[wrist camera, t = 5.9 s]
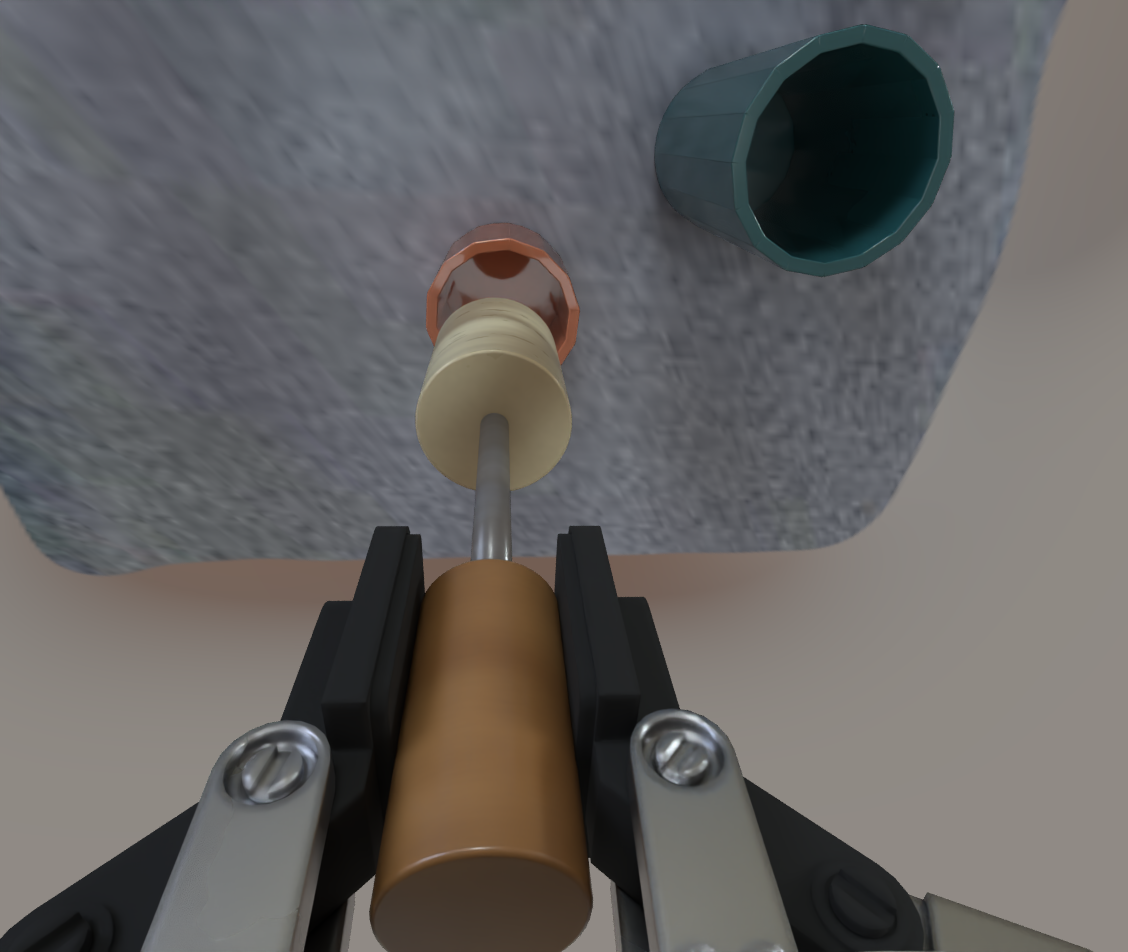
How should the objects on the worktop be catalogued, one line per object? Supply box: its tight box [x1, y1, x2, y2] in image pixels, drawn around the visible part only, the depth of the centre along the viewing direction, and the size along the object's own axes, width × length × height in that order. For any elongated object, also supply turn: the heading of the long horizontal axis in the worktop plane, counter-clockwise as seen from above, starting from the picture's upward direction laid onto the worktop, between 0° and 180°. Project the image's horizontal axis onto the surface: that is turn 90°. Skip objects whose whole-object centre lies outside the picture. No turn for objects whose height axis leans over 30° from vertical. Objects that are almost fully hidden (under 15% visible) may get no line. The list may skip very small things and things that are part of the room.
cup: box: [655, 24, 954, 277], centre depth 27 cm, size 7×7×13 cm
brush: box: [369, 298, 593, 952], centre depth 15 cm, size 4×4×19 cm
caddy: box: [426, 223, 580, 366], centre depth 33 cm, size 7×7×6 cm
